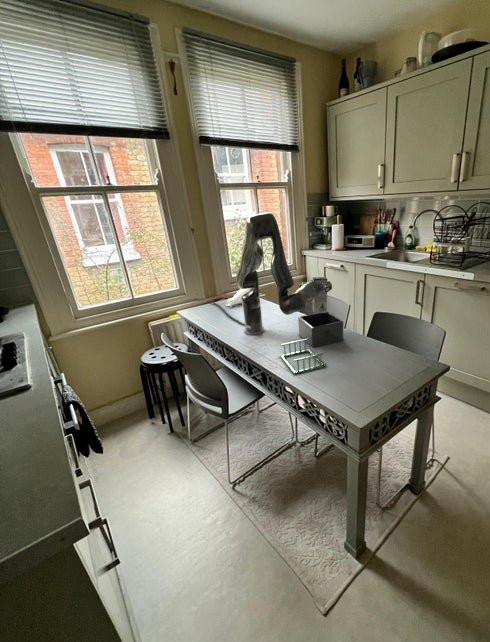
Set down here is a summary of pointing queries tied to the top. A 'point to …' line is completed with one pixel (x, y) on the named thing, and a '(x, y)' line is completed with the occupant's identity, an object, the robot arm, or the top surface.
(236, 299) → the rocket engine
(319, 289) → the robot arm
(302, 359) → the dish rack
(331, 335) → the grey open box
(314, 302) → the coffee box
